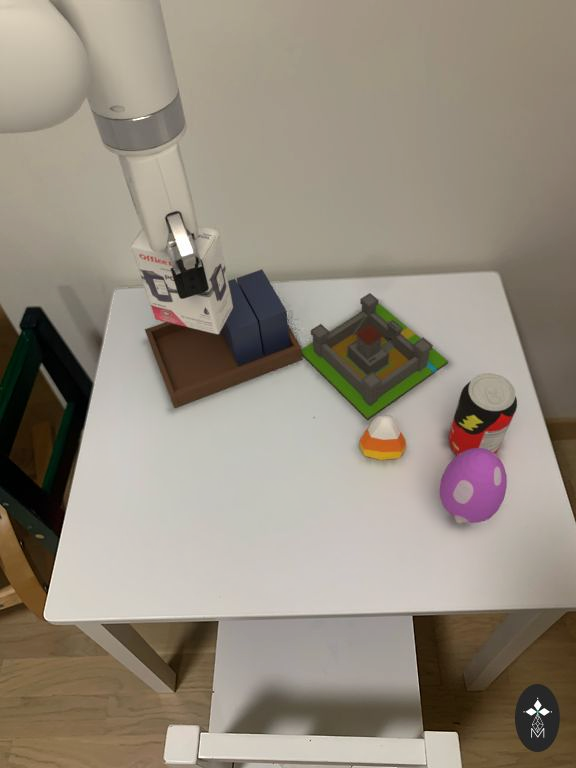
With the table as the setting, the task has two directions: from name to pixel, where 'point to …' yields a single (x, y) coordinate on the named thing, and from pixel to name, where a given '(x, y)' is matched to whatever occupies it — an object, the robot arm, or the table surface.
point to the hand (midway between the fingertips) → (181, 264)
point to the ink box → (162, 293)
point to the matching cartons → (255, 319)
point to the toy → (473, 485)
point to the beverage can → (483, 413)
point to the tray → (206, 361)
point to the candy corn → (383, 439)
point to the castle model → (372, 358)
